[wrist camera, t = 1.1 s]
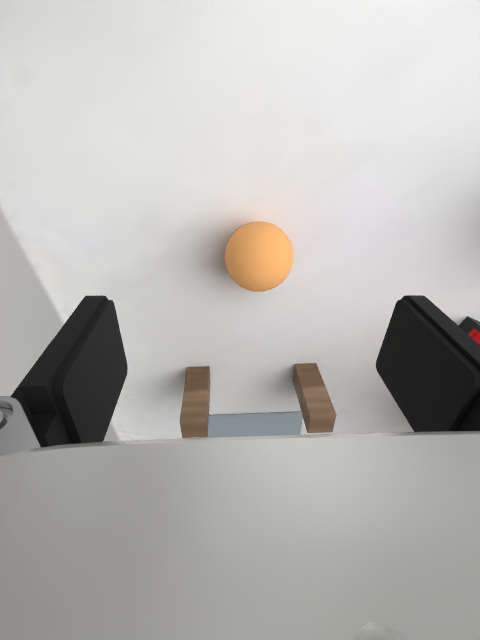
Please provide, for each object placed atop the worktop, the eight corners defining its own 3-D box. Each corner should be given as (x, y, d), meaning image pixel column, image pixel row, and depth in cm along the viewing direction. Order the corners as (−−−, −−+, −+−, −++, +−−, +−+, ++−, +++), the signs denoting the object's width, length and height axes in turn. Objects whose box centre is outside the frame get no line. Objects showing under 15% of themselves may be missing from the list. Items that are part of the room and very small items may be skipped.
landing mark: (198, 415, 42) (198, 416, 42) (302, 411, 43) (303, 412, 43) (204, 477, 49) (204, 478, 49) (293, 473, 50) (293, 475, 50)
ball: (223, 214, 29) (223, 233, 24) (289, 213, 29) (303, 232, 24) (225, 275, 32) (225, 304, 27) (284, 274, 32) (296, 302, 27)
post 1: (187, 367, 38) (179, 420, 31) (209, 366, 38) (206, 419, 31) (189, 383, 39) (182, 437, 32) (210, 382, 39) (207, 436, 32)
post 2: (294, 364, 38) (310, 415, 32) (316, 363, 38) (336, 414, 32) (292, 380, 40) (307, 433, 33) (313, 379, 40) (332, 432, 33)
